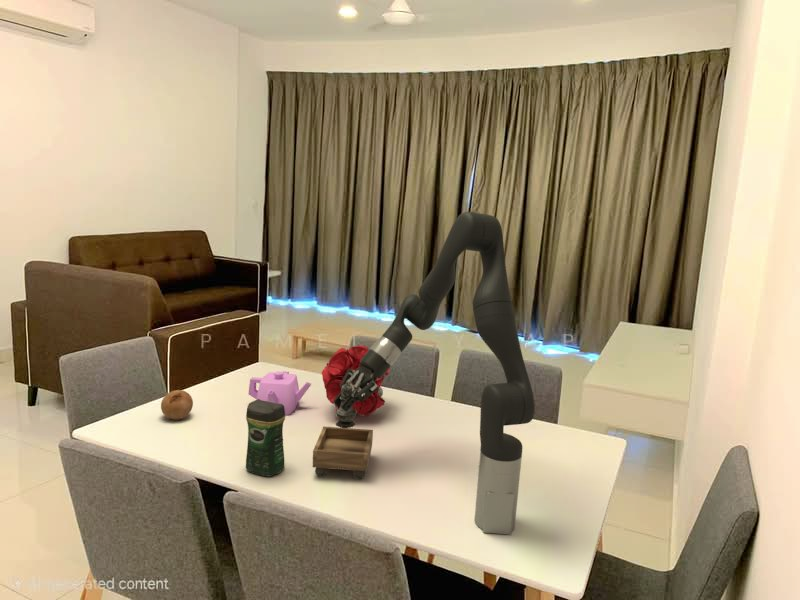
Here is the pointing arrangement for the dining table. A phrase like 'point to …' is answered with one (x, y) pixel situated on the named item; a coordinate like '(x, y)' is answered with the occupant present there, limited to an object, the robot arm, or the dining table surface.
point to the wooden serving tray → (343, 450)
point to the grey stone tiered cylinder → (342, 415)
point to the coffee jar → (265, 437)
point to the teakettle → (278, 389)
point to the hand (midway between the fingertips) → (339, 406)
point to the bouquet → (335, 375)
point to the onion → (176, 404)
